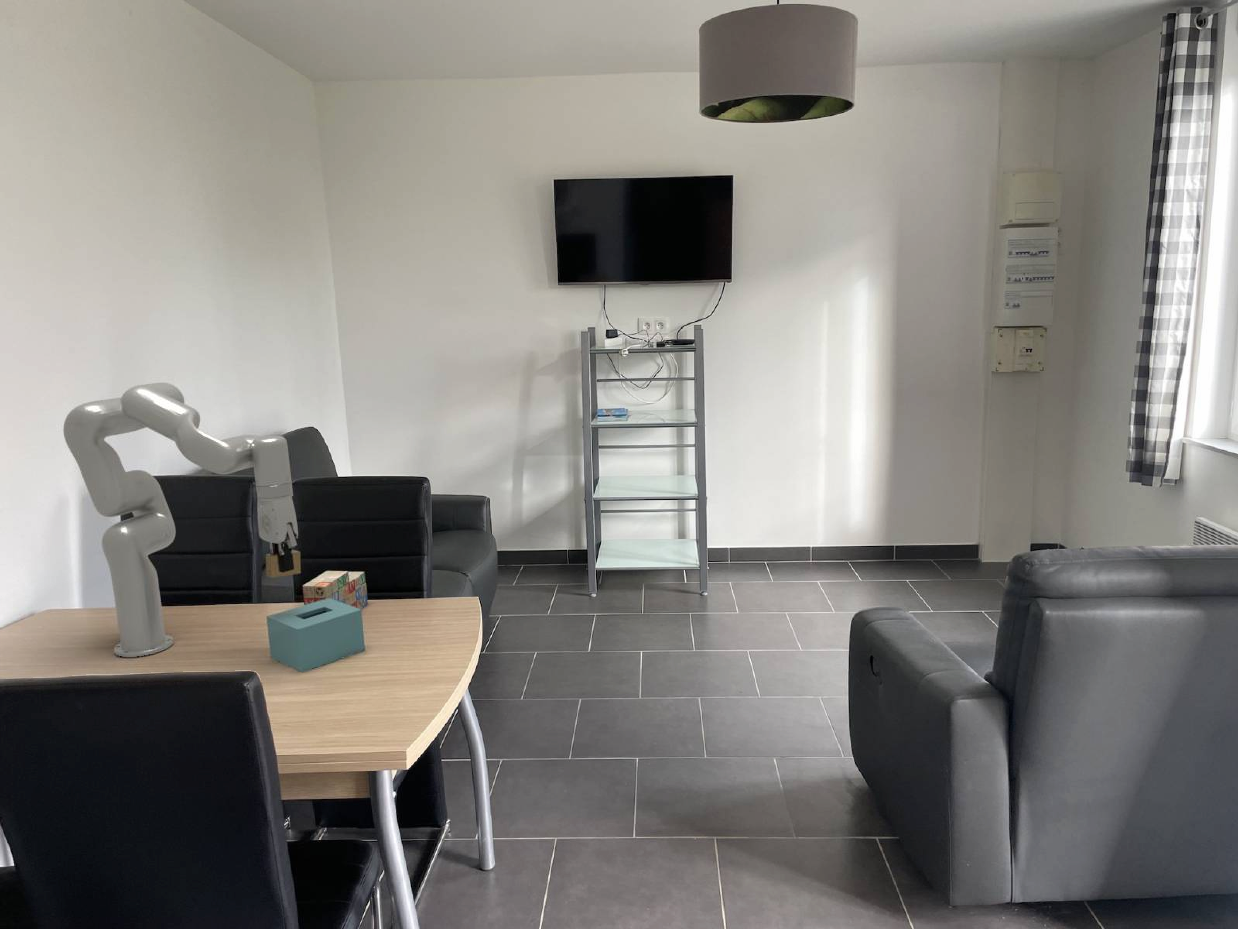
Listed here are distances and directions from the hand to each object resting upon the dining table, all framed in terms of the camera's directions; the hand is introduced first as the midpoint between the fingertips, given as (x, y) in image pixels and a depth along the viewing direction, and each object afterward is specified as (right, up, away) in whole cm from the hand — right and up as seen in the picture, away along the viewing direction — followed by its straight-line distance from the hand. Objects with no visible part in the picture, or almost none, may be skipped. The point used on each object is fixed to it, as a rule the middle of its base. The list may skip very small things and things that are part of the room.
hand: (283, 569), depth 203 cm
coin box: (+6, -20, +4) cm, 22 cm away
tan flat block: (+2, +2, +2) cm, 4 cm away
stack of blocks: (+3, -16, +29) cm, 33 cm away
